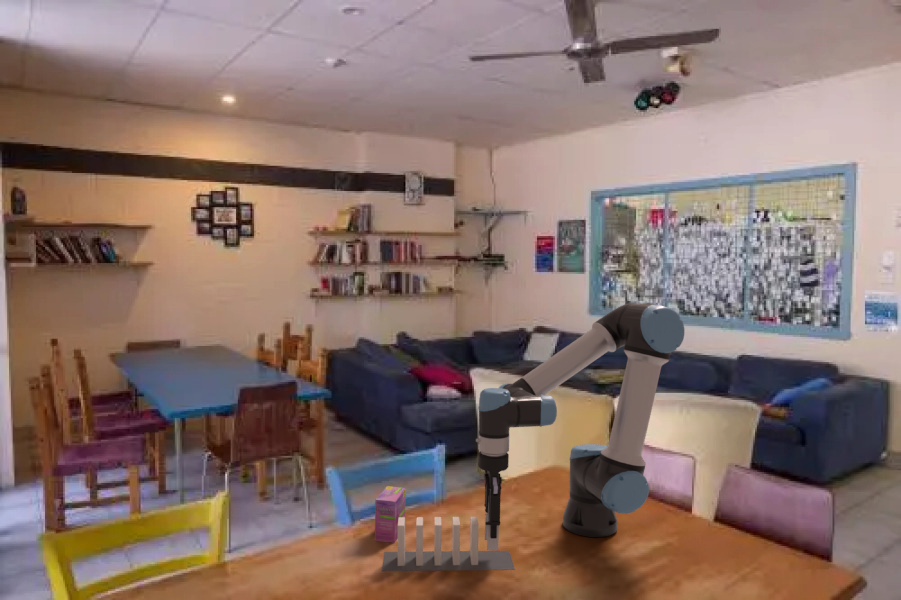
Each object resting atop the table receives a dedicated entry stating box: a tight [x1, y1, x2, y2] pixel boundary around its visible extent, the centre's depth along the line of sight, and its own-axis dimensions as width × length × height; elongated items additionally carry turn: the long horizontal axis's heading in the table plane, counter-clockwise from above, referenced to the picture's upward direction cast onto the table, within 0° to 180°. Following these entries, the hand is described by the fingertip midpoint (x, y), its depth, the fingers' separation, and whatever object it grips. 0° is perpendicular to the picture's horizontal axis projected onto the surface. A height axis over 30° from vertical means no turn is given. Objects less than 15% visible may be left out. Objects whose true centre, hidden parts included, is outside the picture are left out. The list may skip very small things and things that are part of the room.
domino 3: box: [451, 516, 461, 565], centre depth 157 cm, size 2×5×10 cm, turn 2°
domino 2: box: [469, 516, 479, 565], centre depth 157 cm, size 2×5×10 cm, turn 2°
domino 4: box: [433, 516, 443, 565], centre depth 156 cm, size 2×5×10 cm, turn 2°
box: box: [374, 485, 407, 543], centre depth 172 cm, size 10×6×12 cm, turn 168°
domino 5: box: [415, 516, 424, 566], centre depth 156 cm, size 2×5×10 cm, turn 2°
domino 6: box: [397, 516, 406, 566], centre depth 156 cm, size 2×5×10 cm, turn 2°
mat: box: [381, 550, 516, 572], centre depth 157 cm, size 32×10×1 cm, turn 92°
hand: (491, 544), depth 157 cm, fingers closed on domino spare, 5 cm apart
